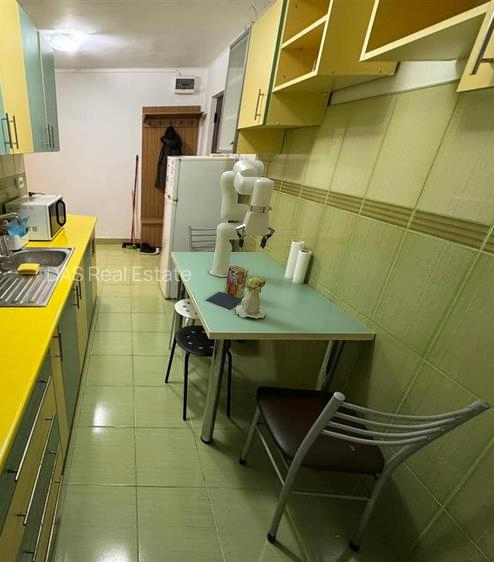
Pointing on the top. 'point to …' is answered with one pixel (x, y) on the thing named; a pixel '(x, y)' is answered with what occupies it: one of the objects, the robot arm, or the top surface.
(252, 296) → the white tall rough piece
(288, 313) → the top surface
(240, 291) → the candy box
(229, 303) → the mat
